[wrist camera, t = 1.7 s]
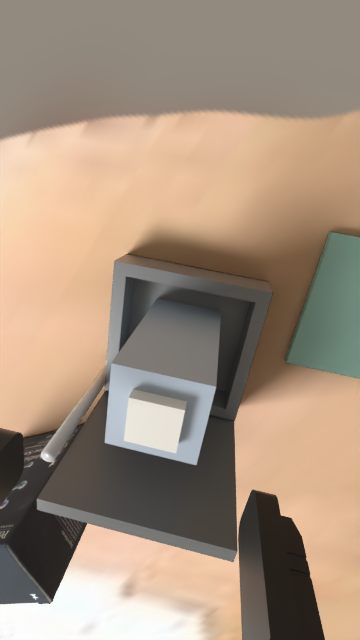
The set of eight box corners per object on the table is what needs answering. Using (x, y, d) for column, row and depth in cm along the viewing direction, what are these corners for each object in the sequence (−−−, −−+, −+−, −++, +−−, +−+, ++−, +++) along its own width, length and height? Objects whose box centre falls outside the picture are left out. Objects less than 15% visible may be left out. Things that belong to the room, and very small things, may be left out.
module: (221, 311, 21) (215, 395, 12) (208, 367, 23) (195, 476, 14) (157, 298, 21) (106, 370, 12) (149, 354, 23) (99, 452, 14)
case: (267, 281, 20) (308, 368, 10) (231, 409, 24) (233, 561, 14) (112, 251, 21) (2, 302, 11) (103, 379, 25) (17, 504, 15)
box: (86, 420, 27) (5, 546, 17) (113, 467, 29) (54, 607, 19) (16, 437, 29) (-90, 558, 19) (46, 480, 31) (-38, 611, 21)
